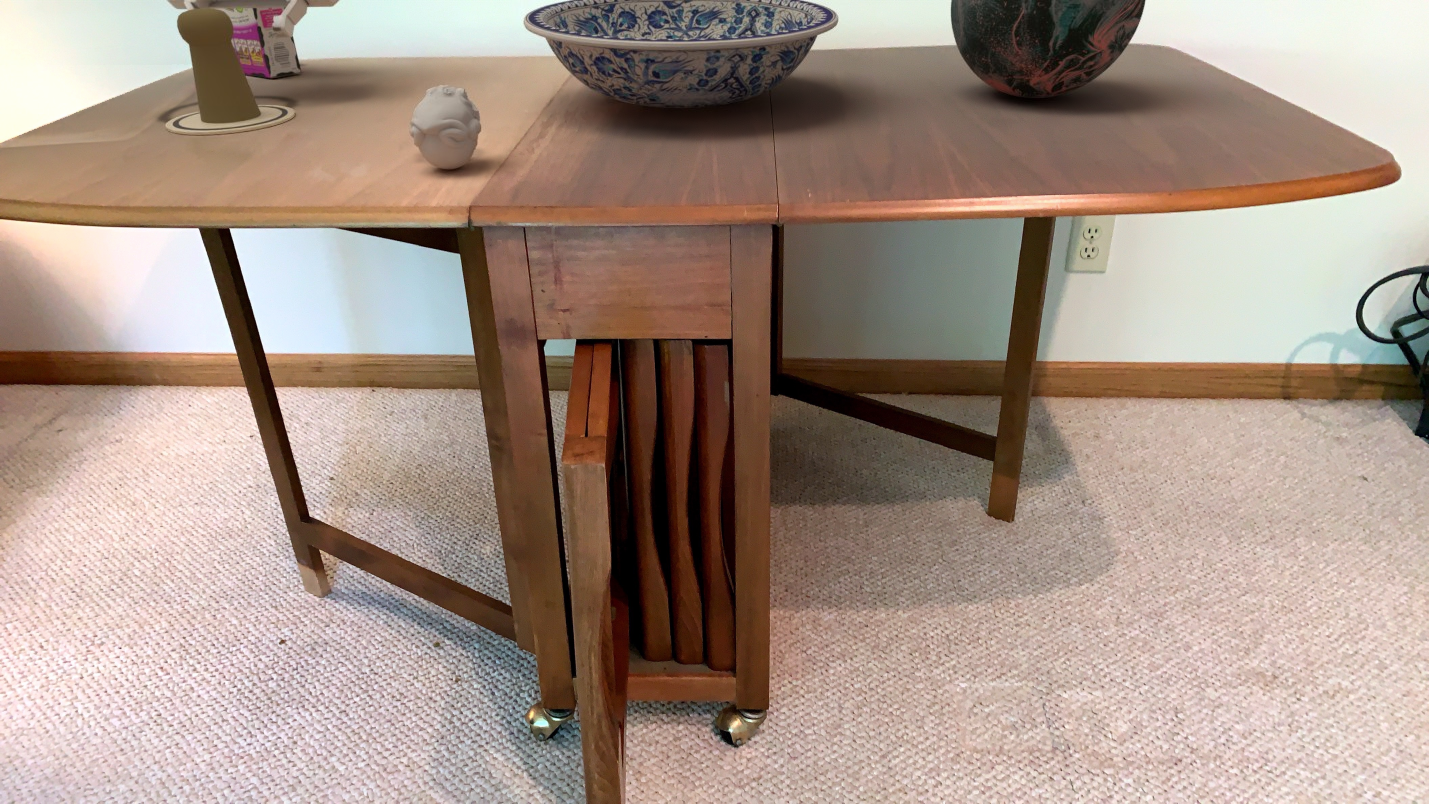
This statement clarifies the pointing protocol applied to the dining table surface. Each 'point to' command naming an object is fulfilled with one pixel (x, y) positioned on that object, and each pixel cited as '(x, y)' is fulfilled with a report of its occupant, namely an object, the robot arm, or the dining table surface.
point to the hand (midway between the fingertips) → (241, 34)
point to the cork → (216, 67)
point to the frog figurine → (446, 127)
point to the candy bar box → (262, 43)
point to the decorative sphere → (1042, 41)
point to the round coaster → (195, 126)
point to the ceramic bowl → (681, 46)
